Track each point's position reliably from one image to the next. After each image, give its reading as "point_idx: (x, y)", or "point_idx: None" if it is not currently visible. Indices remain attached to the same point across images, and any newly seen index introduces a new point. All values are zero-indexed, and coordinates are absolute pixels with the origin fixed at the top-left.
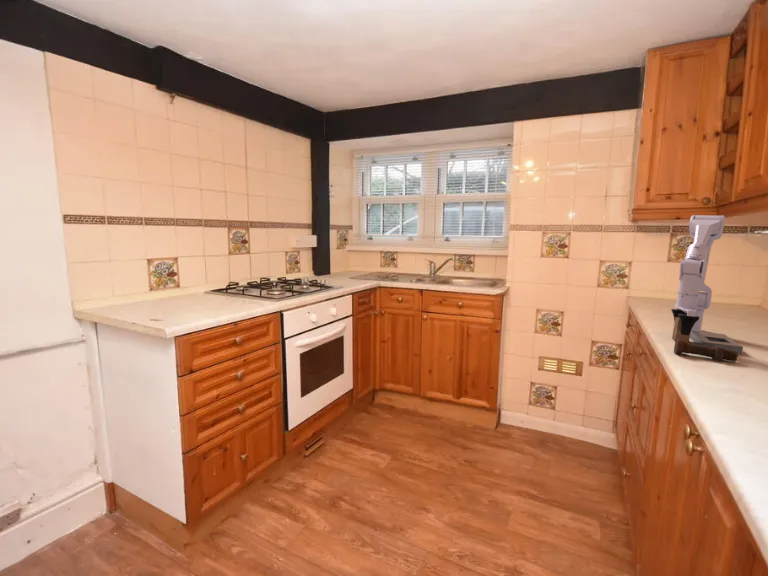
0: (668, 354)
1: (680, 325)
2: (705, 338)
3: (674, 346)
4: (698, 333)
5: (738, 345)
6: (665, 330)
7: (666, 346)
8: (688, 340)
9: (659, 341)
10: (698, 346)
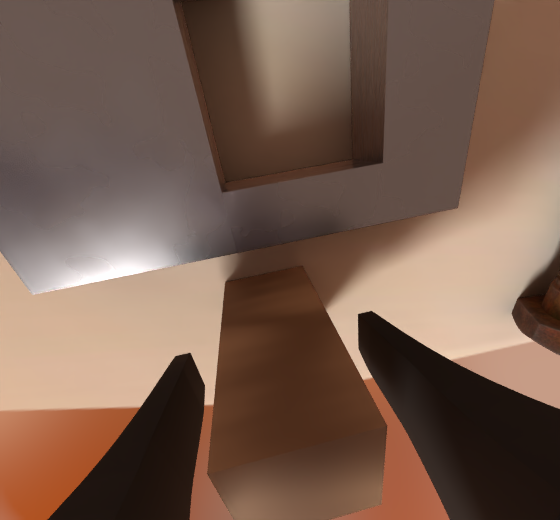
0: None
1: (404, 424)
2: (317, 189)
3: (528, 333)
4: (120, 233)
5: None
6: (6, 386)
7: (431, 344)
8: (307, 279)
9: None
10: None
